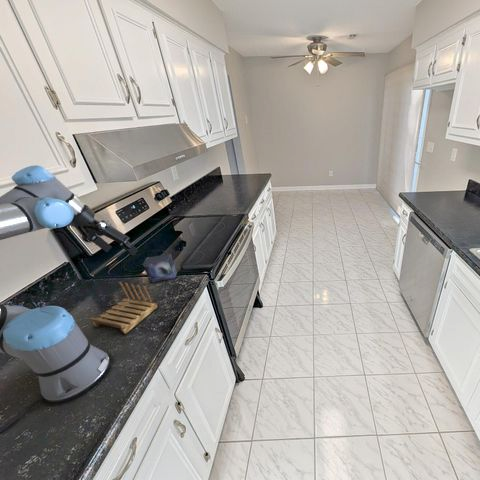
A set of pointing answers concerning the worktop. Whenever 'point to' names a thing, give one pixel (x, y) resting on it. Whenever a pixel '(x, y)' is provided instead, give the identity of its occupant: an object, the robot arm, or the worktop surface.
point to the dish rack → (127, 310)
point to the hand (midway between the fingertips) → (122, 251)
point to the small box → (160, 268)
